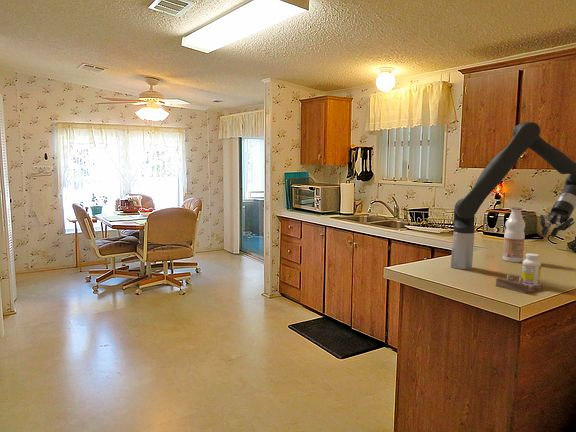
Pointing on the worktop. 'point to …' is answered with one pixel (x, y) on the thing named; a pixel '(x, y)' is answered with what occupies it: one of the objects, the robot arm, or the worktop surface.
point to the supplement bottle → (531, 269)
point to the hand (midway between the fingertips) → (547, 235)
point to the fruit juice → (514, 236)
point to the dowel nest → (517, 285)
